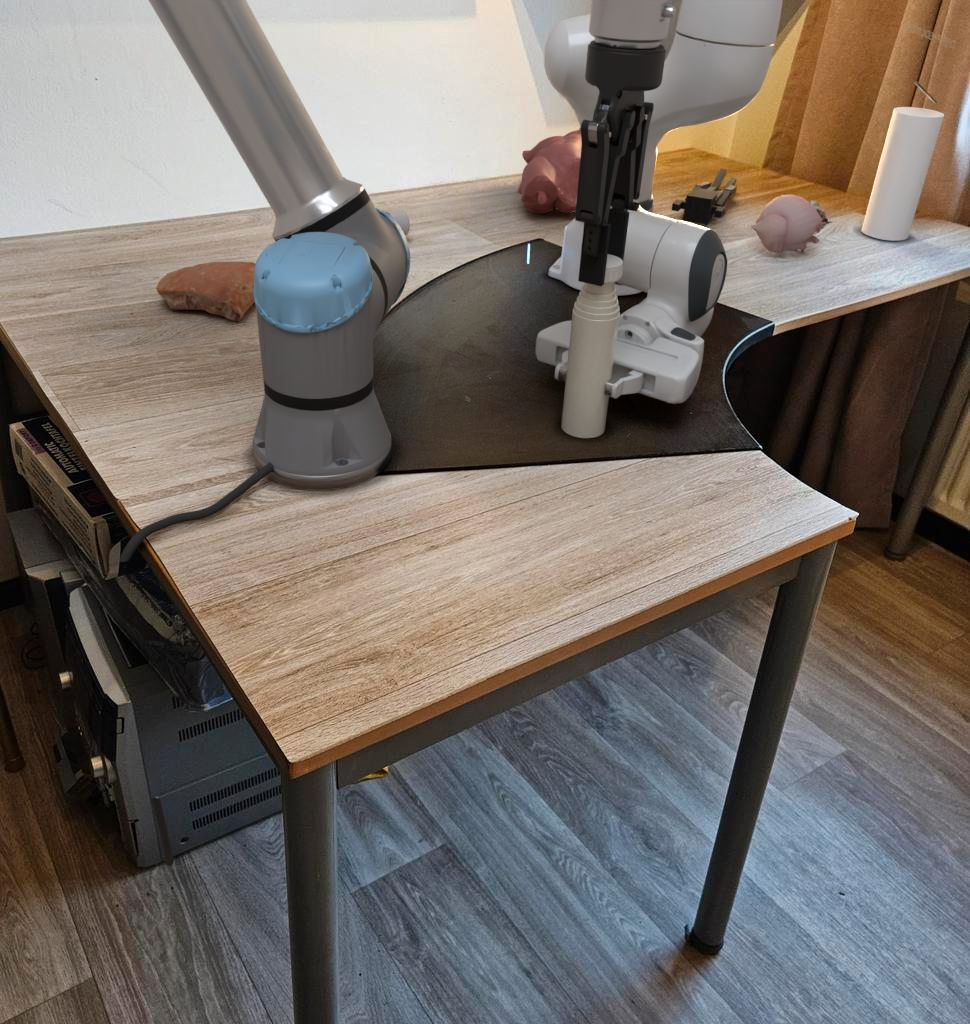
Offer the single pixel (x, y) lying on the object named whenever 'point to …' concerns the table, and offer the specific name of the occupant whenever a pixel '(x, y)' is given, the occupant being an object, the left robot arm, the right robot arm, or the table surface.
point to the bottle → (590, 360)
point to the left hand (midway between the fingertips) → (600, 275)
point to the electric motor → (401, 219)
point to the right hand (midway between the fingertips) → (585, 383)
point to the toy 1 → (706, 200)
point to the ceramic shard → (211, 288)
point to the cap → (613, 268)
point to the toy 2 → (789, 223)
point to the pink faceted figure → (552, 174)
